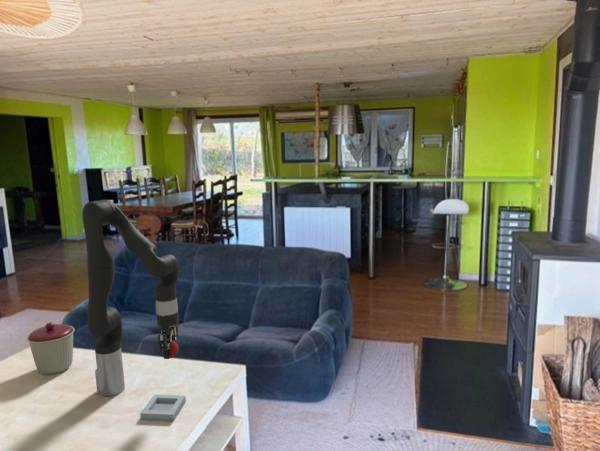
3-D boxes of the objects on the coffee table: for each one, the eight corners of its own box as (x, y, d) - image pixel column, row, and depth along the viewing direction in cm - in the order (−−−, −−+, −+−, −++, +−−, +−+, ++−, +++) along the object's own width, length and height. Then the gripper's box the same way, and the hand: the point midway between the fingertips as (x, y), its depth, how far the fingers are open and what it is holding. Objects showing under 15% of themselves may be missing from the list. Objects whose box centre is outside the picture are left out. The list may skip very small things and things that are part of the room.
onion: (174, 362, 162) (173, 341, 161) (159, 361, 163) (158, 340, 162) (181, 355, 168) (180, 334, 167) (166, 354, 169) (165, 333, 168)
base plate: (140, 419, 159) (140, 413, 158) (154, 400, 170) (154, 394, 170) (173, 421, 157) (173, 414, 157) (185, 401, 169) (185, 395, 169)
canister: (33, 364, 201) (27, 319, 197) (78, 355, 208) (73, 312, 204) (29, 383, 185) (22, 334, 181) (78, 373, 192) (72, 326, 188)
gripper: (164, 303, 170) (167, 345, 173) (148, 318, 155) (152, 363, 159) (183, 303, 169) (186, 345, 172) (170, 318, 155) (173, 364, 158)
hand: (170, 354), depth 165 cm, fingers closed on onion, 6 cm apart
